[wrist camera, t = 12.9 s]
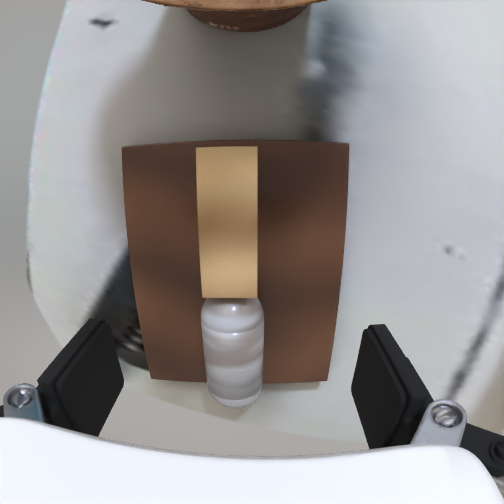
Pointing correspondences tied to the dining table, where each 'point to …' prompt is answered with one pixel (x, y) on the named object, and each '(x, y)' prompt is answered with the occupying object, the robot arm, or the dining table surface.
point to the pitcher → (241, 12)
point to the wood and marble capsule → (230, 273)
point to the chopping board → (268, 257)
